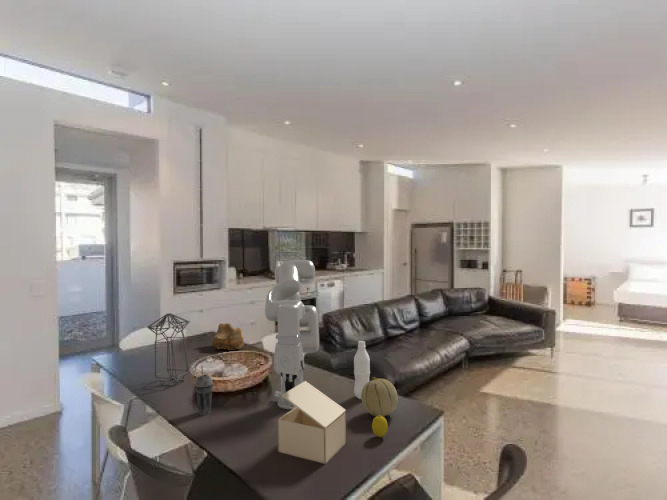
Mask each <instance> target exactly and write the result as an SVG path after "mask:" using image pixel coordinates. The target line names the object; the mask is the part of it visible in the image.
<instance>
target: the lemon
mask: <svg viewBox="0 0 667 500" xmlns="http://www.w3.org/2000/svg"><path fill="white" fill-rule="evenodd" d="M371 428H372V429H371V430H372V433H373V434H374V435H376V437H378V438H382V437H383V436H385V435H386V434H387V432H388V428H389V427H388V421H387V419H386V418H385V416H381V415H379V416H374V417H373V420H372V424H371Z"/></svg>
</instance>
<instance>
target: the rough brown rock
mask: <svg viewBox="0 0 667 500" xmlns="http://www.w3.org/2000/svg"><path fill="white" fill-rule="evenodd" d="M217 327H218V328H217V331H216V333H215V334H214V337H213V339H212V341H211V344H212V346H213V348H214V349H215V348H219V349H218V350H221V349H222V350H226V349H229V350H233V351H237V350H236V349H238V350H240V349H242V348H243V347H244V345H245V343H244V342H245V341H244V337H243V332H242V329H241V328H239V327H237V328H234V327H233V326H232V325H231V323H228V322H227V323H219V324H218V325H217ZM229 350H228V351H229Z"/></svg>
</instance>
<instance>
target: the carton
mask: <svg viewBox="0 0 667 500" xmlns="http://www.w3.org/2000/svg"><path fill="white" fill-rule="evenodd" d="M276 425H277V453H280V454H284V455H288V456H293V457H296V458H301V459H304V460H308V461H312V462H316V463H320V464H324V465H326V464H327V463H328V462H329V461H330V460H332V458H333V457H334V456H336V454H337V453H338V452H339V451H340V450H341V449H342V448H343V447H344V446H345V445H346V444H347V436H346V435H347V433H346V432H347V431H346V428H347V427H346V411H345V412H344V413H343V414H342V415H341V416H339V417H338V418H337V419H336V420H335V421H334V422H332V423H331V424H330V425H329V426H328V427H326V428H323V427H322V426H321V425H319V424H318V423H317V422H315V421H314V420H313V419H311V418H310V417H309V416H307V415H306V414H305V413H303V412H302V411H301V410H299V409H298V408H297V407H296V408H294V409H290V411H288V412H287V413H285V414H284V415H282V416H281V417H279V418H278V419H277V424H276Z"/></svg>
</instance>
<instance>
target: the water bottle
mask: <svg viewBox="0 0 667 500" xmlns="http://www.w3.org/2000/svg"><path fill="white" fill-rule="evenodd" d="M366 347H367V346H366V341H365V340H358V344H357V351H356V353H355V355H354V357H353V366H354V367H353V368H354V370H353V374H354V388H353V392H354V396H355V397H356V398H357V399H358V400H362V398H361V394H362V389H363V387H364V386H365V384H366V383H367V382H369V381H370V374H371V371H370V370H371V369H370V368H371V365H370V364H371V363H370V361H371V360H370V356H369V353H368V351H367V349H366Z"/></svg>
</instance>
